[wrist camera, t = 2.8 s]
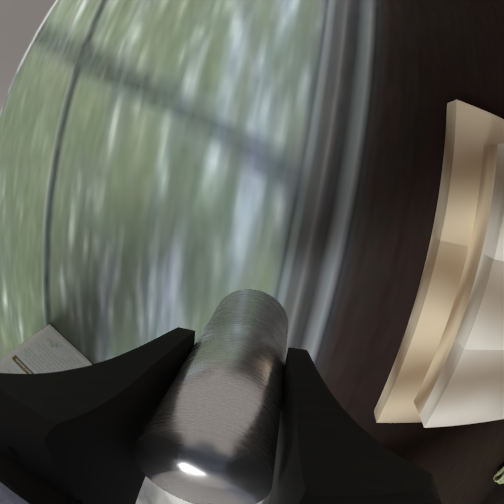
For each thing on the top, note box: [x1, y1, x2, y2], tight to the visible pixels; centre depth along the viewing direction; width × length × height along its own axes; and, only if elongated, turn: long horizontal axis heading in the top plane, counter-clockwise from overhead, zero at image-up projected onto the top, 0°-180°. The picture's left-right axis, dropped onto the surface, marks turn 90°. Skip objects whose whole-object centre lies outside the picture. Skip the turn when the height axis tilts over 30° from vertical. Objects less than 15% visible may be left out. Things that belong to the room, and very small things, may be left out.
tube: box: [134, 289, 288, 504], centre depth 9 cm, size 3×3×8 cm
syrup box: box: [0, 324, 93, 374], centre depth 14 cm, size 6×6×14 cm
